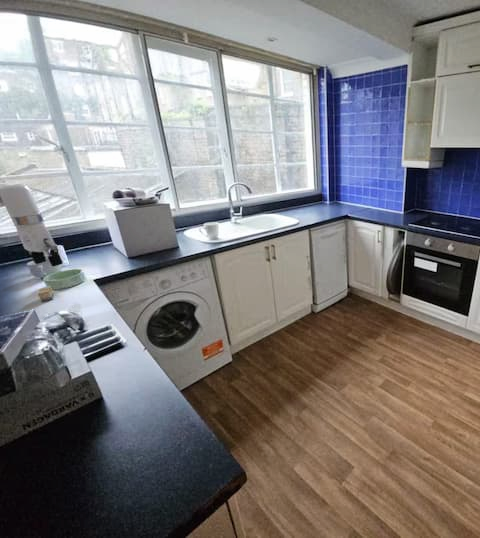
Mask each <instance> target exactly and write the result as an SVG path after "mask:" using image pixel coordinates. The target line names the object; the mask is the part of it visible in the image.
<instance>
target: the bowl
mask: <svg viewBox="0 0 480 538" xmlns="http://www.w3.org/2000/svg"><path fill="white" fill-rule="evenodd" d="M84 280H85V281H86V280H87V277H86V274H85V272H84V270H83V269H81V268H73V269H72V268H71V269H66V270H61V272H57V273H54V274H51V275H48V276H46V277H45V278H42V281H43V283H44V285H45V287H49V286H51V288H52V290H53V291H54V290H55V291H57V290H65V289H69V288H72V287H71V286H73V287H75V286H74V285H76V284H78V285H80V284H82V283H84V282H85V281H84ZM83 281H84V282H83ZM81 282H82V283H81ZM79 283H80V284H79ZM76 286H77V285H76ZM68 287H69V288H68Z"/></svg>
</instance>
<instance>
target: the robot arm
mask: <svg viewBox="0 0 480 538" xmlns="http://www.w3.org/2000/svg"><path fill="white" fill-rule="evenodd" d="M1 207H5V209H6V211H7V213H8V215H9V217H10V219H11V221H12V223H13V225H14V227H15V229H16V232H17V235H18V237H19V240H20V241H21V245H22V246H23V248H24V250H26V251H28V253H29V255H30V257H31V258H32V261H34V262H35V264H39V263H43V262H46V259H45V258H46V256H45V254H44V253H43V251H44V252H45V253H46V254H47V255H48V259H49V261H50V263H51V265H52V266H57V265H60V264H63V262H62V260H61V258H60V256H59V252H58V249H57V245H58V244H57V243H55V241H54V239H53V236H52V235H51V233H50V232H49V229H48V228H47V226H46V225H45V220H44V217H43V216H42V213H41V210H40V209H39V207H38V204H37V202H36V200H35V197H34V196H33V193H32V191H31V188H30V187H29V186H28V185H27V184H23V183H21V184H4V183H0V208H1ZM45 248H46V249H45ZM49 250H50V252H49Z"/></svg>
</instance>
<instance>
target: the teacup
mask: <svg viewBox="0 0 480 538" xmlns="http://www.w3.org/2000/svg"><path fill="white" fill-rule="evenodd" d="M45 259H46V262H43V263H39V264H35V262H34V260H31V261H28V262H27V263H26V265H27V267H28V269H29V272H30V273H31V275H32V276H33V277H35V278H39V279H44V278H45V277H46V276H48V275H51V274H54V273H57V272H61V271H63V267H61V264H60V265H57V266H52V265H51V263H50V261H49V259H48V258H46V257H45Z"/></svg>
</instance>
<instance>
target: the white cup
mask: <svg viewBox="0 0 480 538" xmlns="http://www.w3.org/2000/svg"><path fill="white" fill-rule="evenodd" d="M56 245H57V249H58V252H59V256H60V258H61V260H62V262H63V264H61V267H62V268H63V267H66V266H68V265H70V261H69V259H68V256H67V253H66V250H65V248H64V245H61V244H59V245H58V244H56ZM45 249H46V248H45ZM49 252H50V250H49ZM42 253H43V255H44V257H45V258H48V255H47V254H46V253H45V252H44V251H42Z"/></svg>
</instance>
